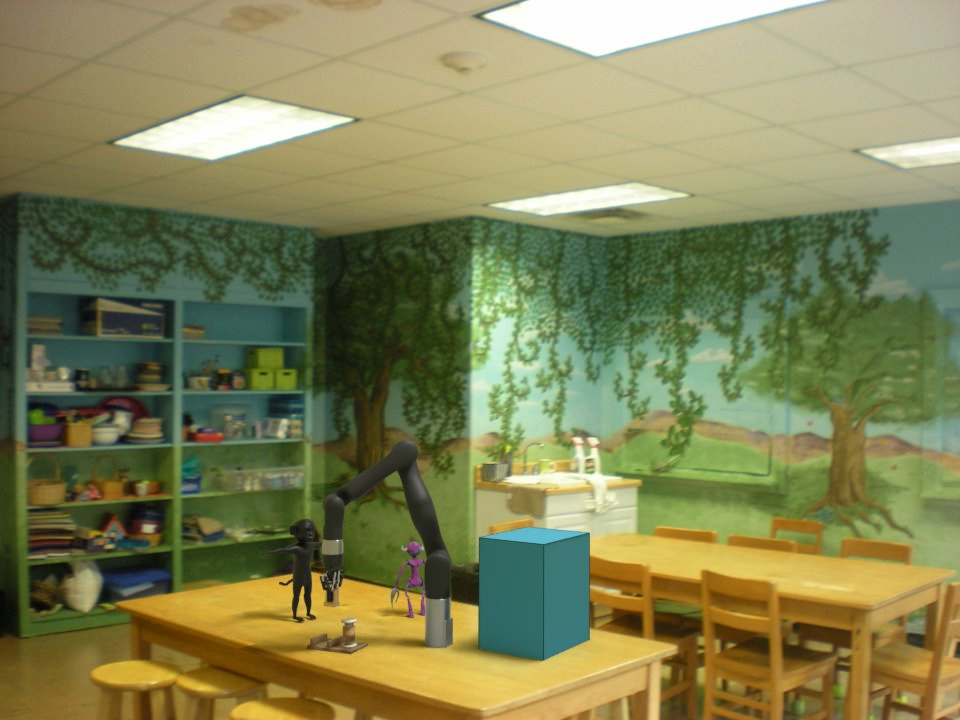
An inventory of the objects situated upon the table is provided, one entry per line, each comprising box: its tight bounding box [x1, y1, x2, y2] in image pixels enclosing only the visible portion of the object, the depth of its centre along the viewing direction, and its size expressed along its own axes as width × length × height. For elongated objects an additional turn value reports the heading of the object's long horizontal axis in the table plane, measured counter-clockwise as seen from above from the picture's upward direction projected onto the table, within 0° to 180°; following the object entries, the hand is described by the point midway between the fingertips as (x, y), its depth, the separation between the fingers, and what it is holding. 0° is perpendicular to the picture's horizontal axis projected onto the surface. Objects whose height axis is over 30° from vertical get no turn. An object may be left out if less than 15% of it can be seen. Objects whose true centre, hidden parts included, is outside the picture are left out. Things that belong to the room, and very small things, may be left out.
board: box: [306, 617, 369, 655], centre depth 349 cm, size 18×12×10 cm, turn 66°
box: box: [477, 526, 591, 662], centre depth 353 cm, size 27×33×40 cm
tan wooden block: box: [323, 586, 341, 608], centre depth 347 cm, size 4×4×6 cm
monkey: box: [261, 518, 323, 623], centre depth 396 cm, size 40×20×40 cm, turn 140°
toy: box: [390, 541, 426, 619], centre depth 400 cm, size 19×9×30 cm, turn 130°
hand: (332, 601), depth 347 cm, fingers closed on tan wooden block, 2 cm apart
